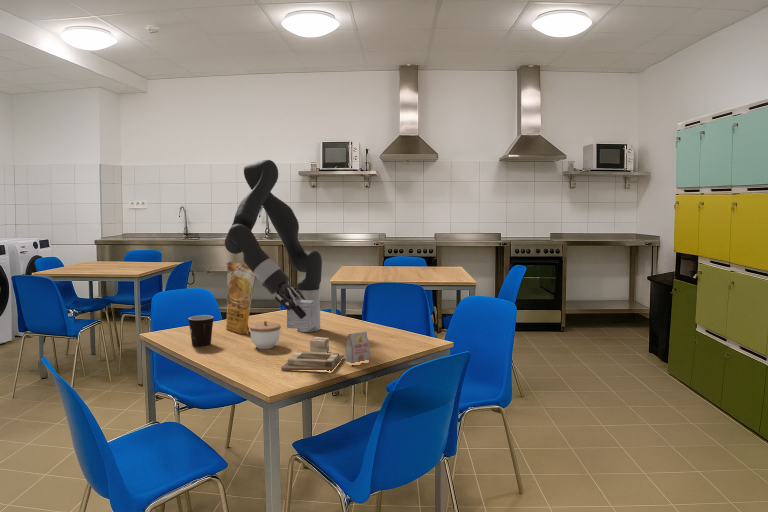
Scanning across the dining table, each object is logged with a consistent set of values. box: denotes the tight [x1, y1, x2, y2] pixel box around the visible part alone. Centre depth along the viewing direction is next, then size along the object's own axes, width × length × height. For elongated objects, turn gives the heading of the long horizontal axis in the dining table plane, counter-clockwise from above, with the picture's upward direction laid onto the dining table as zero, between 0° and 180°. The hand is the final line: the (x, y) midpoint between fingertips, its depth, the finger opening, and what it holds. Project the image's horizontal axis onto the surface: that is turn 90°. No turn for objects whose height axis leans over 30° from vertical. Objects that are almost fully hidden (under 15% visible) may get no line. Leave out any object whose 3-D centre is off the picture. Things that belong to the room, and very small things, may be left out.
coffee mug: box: [188, 314, 214, 348], centre depth 178 cm, size 12×9×10 cm
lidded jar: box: [249, 320, 282, 350], centre depth 178 cm, size 11×11×9 cm
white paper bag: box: [345, 331, 370, 363], centre depth 159 cm, size 4×7×10 cm, turn 126°
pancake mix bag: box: [225, 261, 257, 335], centre depth 201 cm, size 7×19×28 cm, turn 47°
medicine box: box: [286, 300, 315, 330], centre depth 156 cm, size 8×4×9 cm, turn 77°
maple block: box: [309, 336, 330, 353], centre depth 170 cm, size 5×5×5 cm
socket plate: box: [280, 350, 345, 371], centre depth 157 cm, size 16×16×2 cm
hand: (306, 315), depth 156 cm, fingers closed on medicine box, 4 cm apart
